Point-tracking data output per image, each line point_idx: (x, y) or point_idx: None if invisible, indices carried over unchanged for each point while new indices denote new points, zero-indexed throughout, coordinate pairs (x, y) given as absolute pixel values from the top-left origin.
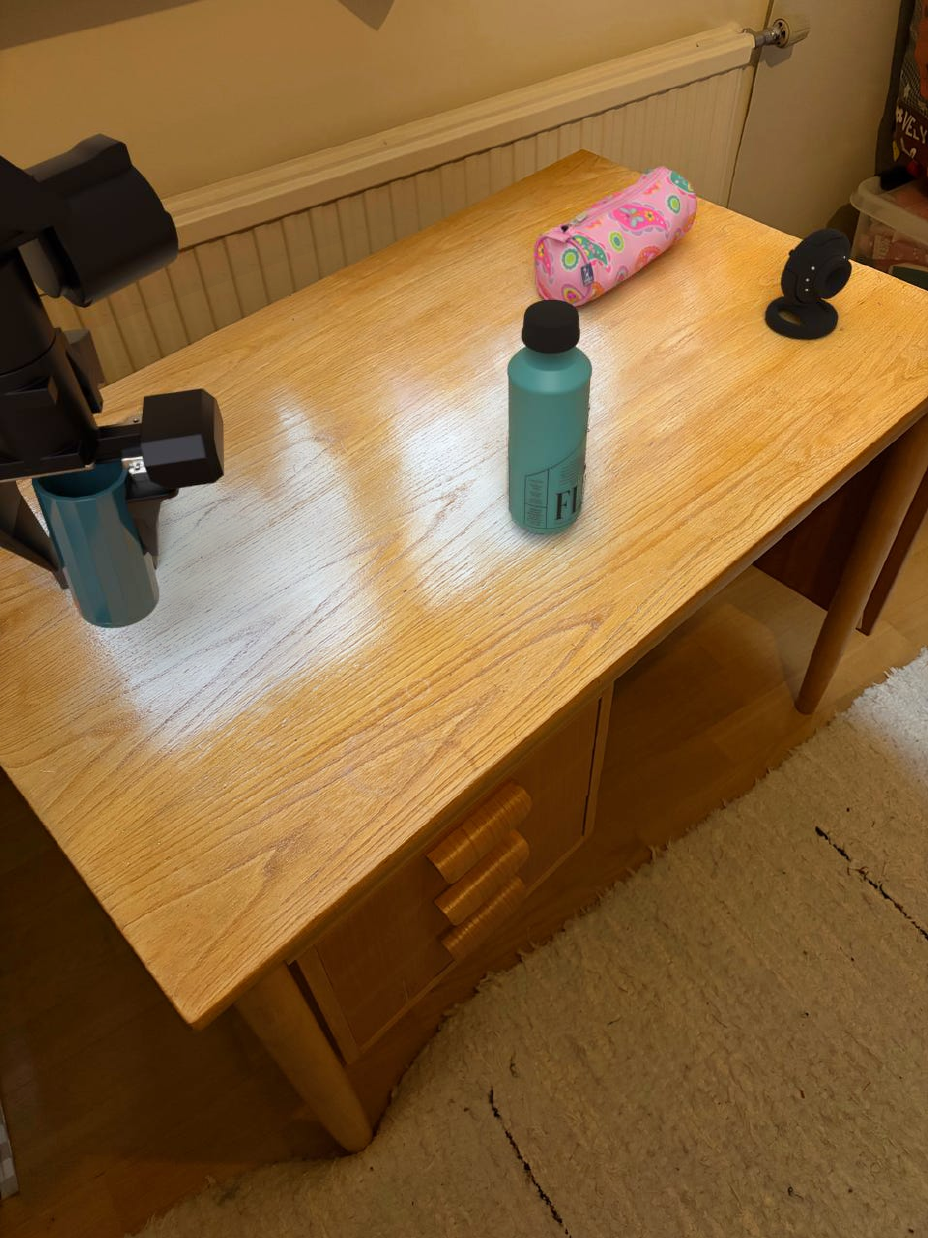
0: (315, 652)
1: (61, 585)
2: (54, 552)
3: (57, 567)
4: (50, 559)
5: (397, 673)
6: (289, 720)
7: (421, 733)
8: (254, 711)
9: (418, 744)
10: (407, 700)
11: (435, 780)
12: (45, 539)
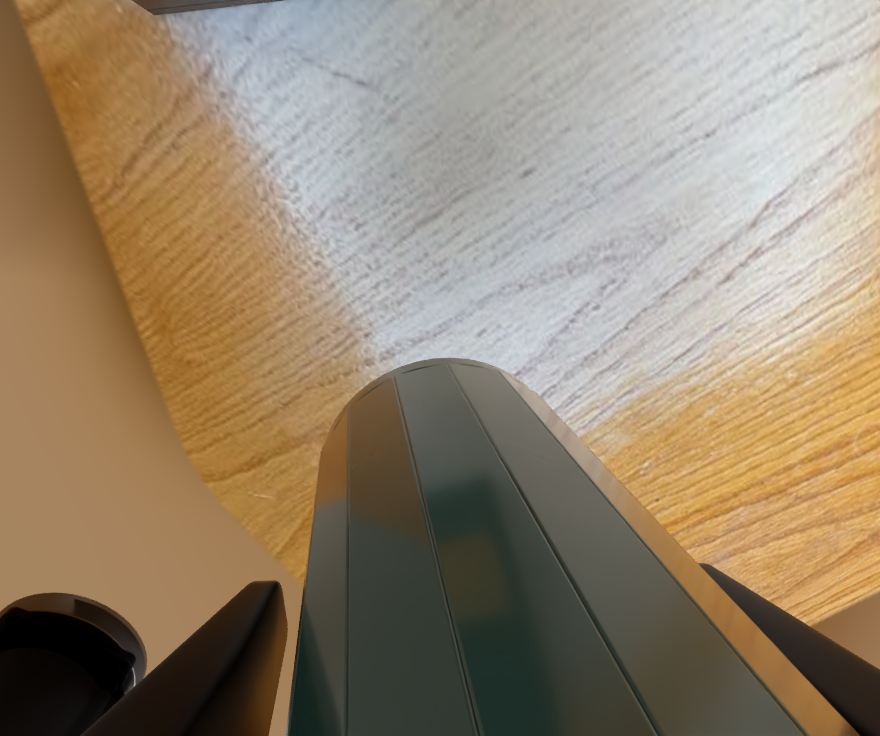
0: (727, 332)
1: (151, 9)
2: (263, 637)
3: (283, 634)
4: (266, 719)
5: (854, 404)
6: (653, 465)
7: (845, 517)
8: (599, 439)
9: (834, 533)
10: (849, 458)
11: (834, 586)
12: (223, 726)
